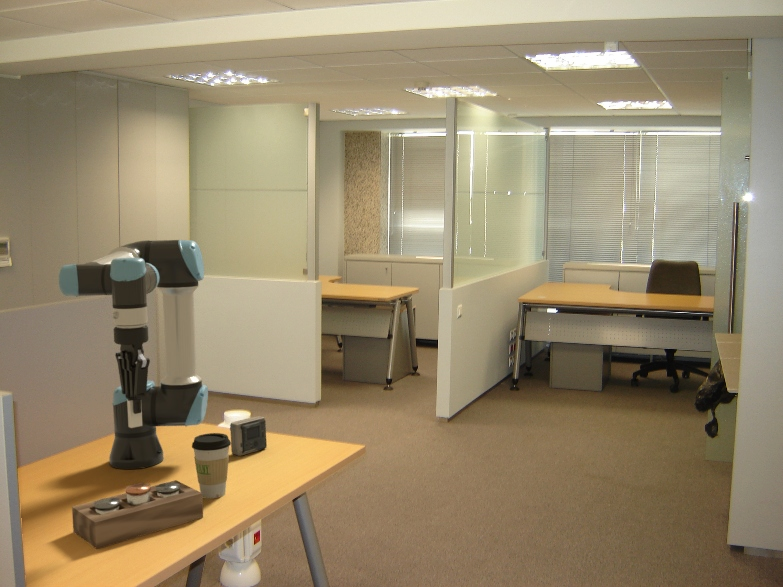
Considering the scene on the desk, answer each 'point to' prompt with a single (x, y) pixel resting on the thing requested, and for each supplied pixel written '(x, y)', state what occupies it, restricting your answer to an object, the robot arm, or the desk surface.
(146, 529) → the wooden jar holder
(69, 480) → the desk surface
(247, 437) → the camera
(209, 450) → the coffee cup
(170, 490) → the ball
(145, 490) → the terracotta plunger
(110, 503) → the grey plunger front
